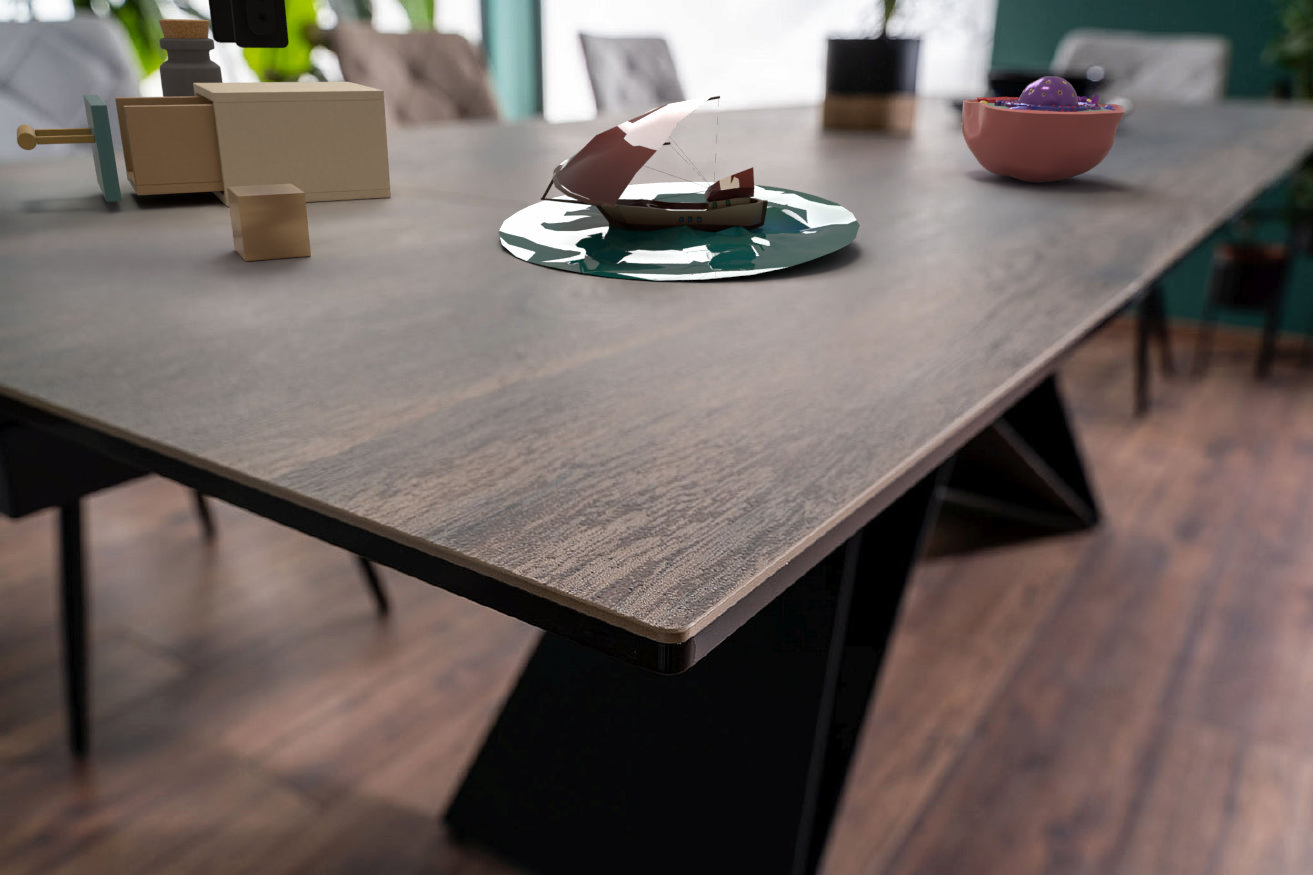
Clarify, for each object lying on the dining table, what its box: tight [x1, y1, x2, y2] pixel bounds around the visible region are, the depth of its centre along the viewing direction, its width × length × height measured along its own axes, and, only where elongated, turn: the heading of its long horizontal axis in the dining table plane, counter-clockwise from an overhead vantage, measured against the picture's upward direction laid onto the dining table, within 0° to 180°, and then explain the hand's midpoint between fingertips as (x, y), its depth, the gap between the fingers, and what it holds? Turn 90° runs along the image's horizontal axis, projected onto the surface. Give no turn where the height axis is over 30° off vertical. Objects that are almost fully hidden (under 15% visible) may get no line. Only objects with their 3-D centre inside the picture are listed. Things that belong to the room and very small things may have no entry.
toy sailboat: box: [498, 95, 860, 281], centre depth 83 cm, size 28×28×11 cm
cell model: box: [960, 75, 1127, 184], centre depth 121 cm, size 17×20×11 cm
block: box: [227, 184, 312, 262], centre depth 77 cm, size 4×4×4 cm
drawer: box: [16, 94, 224, 202], centre depth 96 cm, size 19×11×8 cm, turn 119°
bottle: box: [158, 18, 224, 97], centre depth 111 cm, size 6×6×15 cm
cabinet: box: [193, 81, 392, 208], centre depth 101 cm, size 15×13×10 cm
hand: (249, 44), depth 73 cm, fingers open, 8 cm apart
